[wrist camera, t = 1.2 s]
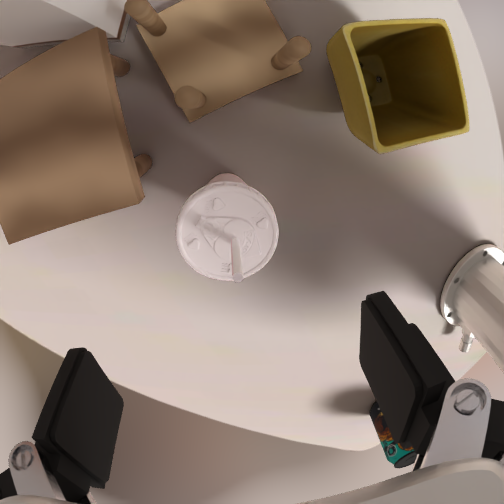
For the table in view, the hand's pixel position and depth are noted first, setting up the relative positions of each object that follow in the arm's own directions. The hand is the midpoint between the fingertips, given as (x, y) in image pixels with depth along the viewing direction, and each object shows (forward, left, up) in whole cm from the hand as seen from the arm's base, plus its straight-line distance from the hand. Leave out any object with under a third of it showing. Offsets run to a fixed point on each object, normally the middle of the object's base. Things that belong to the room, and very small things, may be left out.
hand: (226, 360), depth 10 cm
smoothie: (0, 0, -20) cm, 20 cm away
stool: (+9, +11, -20) cm, 24 cm away
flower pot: (+8, -14, -20) cm, 26 cm away
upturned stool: (+13, -2, -20) cm, 24 cm away
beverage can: (-39, -18, -20) cm, 48 cm away
